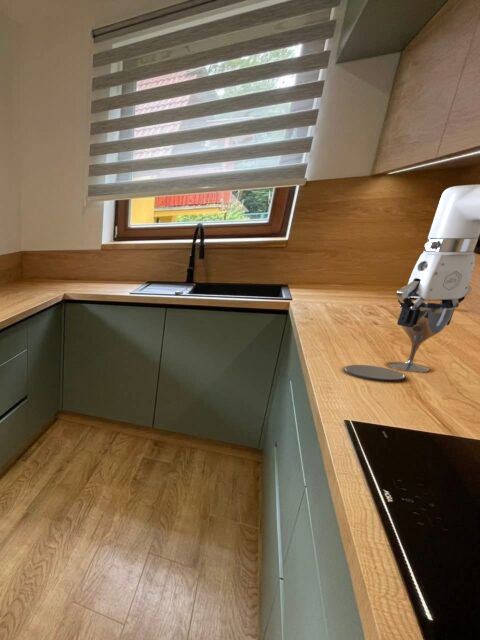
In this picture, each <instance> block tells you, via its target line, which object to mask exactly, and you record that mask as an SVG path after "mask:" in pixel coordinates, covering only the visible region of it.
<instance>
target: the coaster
mask: <svg viewBox="0 0 480 640" xmlns="http://www.w3.org/2000/svg"><path fill="white" fill-rule="evenodd" d="M343 371H344V372H345V373H346V374H347V375H349V376H351V377H352V376H353V377H355V378H360V379H363V380H368V381H373V382H374V381H375V382H383V383H384V382H385V383H393V382H394V383H395V382H396V383H397V382H402V381H404V380H405V375H404V374H403V373H402V372H400V371H397V370H394V369H391V368H386V367H382V366H377V365H368V364H367V365H366V364H351V365H350V364H349V365H347V366H345V367H344V369H343Z"/></svg>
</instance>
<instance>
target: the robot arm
mask: <svg viewBox="0 0 480 640" xmlns="http://www.w3.org/2000/svg"><path fill="white" fill-rule="evenodd" d="M479 237H480V184H466V185H454V186H450V187H448V188H446V189H445V190H444V191H442V194H441V197H440V199H439V201H438V205H437V208H436V211H435V214H434V217H433V221H432V223H431V226H430V230H429V233H428V236H427V238H426V242H425V244H424V248H423V252H422V253H421V254H420V256H419V258H417V259H418V260H417V261H416V263H415V265H414V267H413V269H412V272H411V275H410V277H409V279H408V282H407V284H406V285H405V286H403V287H401V288H400V289H398V290H397V291H396V296H397V299H398V300H397V302H398V303H399V308H400V309H401V310H400V313H399V316H398V320H397V323H396V324H397V326H401V327H402V326H405V327H413V326H414V323H415V320H416V317H417V314H418V311H419V310H416V309H417V308H418V307H419V305H420V304H421V303H422V302H424V301H439V304H446V305H451V306H454V310H453V313H452V315H451V318H450V320H449V321H448V323H447V325H446V326H449V325H450V324H451V320H452V318H453V315H454V313H455V309H457V308H458V307H459V306H460V303H461V302H463V301H464V300H465V298H466V297H467V295H468V294H469V293H471V291H472V290H473V288H472V287H471V286H470V283H471V280H472V277H473V273H474V267H475V262H476V261H475V260H476V252H475V248H476V245H477V243H478V240H479ZM413 302H414V303H413Z"/></svg>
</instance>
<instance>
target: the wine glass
mask: <svg viewBox="0 0 480 640" xmlns="http://www.w3.org/2000/svg"><path fill="white" fill-rule="evenodd" d="M412 302H413V303H414V302H415V301H412ZM416 310H419V311H418V314H417V317H416V320H415V323H414V326H413V327H405V326H401V328H402V330H403V331H404V333H405V334H406V335H407V337H408V338H409V340H410V343H411V348H410V354H409V357H408V360H407V361H405V362H389V363H388V364H387V366H389V367H390V368H393V369H397V370H400V371H406V372H415V373H426V372H429V371H430V368H428V367H426V366H423V365H421V364H416V363H415V362H414V359H415V355H416V353H417V351H418V349H419V348H420V346H421V345H422V344H423V343H424V342H426V341H427V340H429V339H431V338H432V337H434V336H436V335H438V334H439V333H441V332H442V331H443V330H444V329H445V328H446V327H447V326H448V325H447V323H448V321H449V320H450V318H451V315H452V313H453V314H454V312H453V310H454V306H451V305H446V304H440V303H439V302H438V303H437V302H424V301H423V302H422V303H421V304H420V305H419V307H418V308H417V309H416ZM454 311H455V310H454ZM452 316H453V315H452ZM451 319H452V318H451Z"/></svg>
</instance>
